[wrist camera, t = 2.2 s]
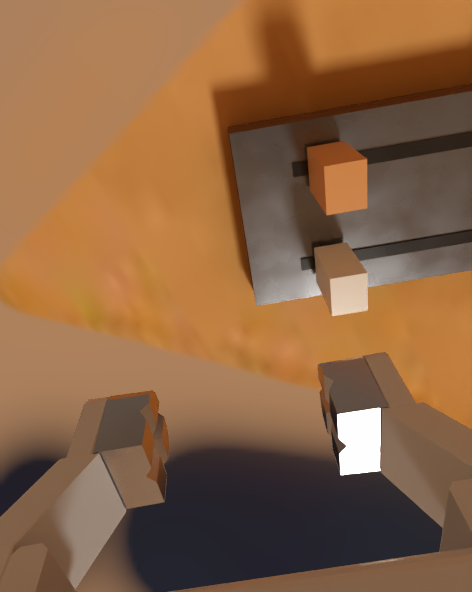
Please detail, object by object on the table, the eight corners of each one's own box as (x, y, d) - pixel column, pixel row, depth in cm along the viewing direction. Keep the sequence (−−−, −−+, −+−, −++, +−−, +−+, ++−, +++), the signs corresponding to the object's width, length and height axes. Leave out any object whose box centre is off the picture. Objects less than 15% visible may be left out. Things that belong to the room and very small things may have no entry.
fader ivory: (346, 242, 27) (367, 272, 23) (347, 276, 28) (367, 310, 25) (313, 247, 27) (329, 279, 23) (316, 281, 28) (332, 316, 25)
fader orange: (343, 141, 24) (367, 159, 20) (344, 184, 25) (367, 208, 21) (306, 147, 24) (324, 166, 20) (309, 190, 25) (326, 215, 22)
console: (551, 69, 25) (585, 73, 22) (517, 246, 30) (542, 263, 28) (227, 127, 25) (229, 136, 23) (253, 290, 31) (257, 310, 29)
